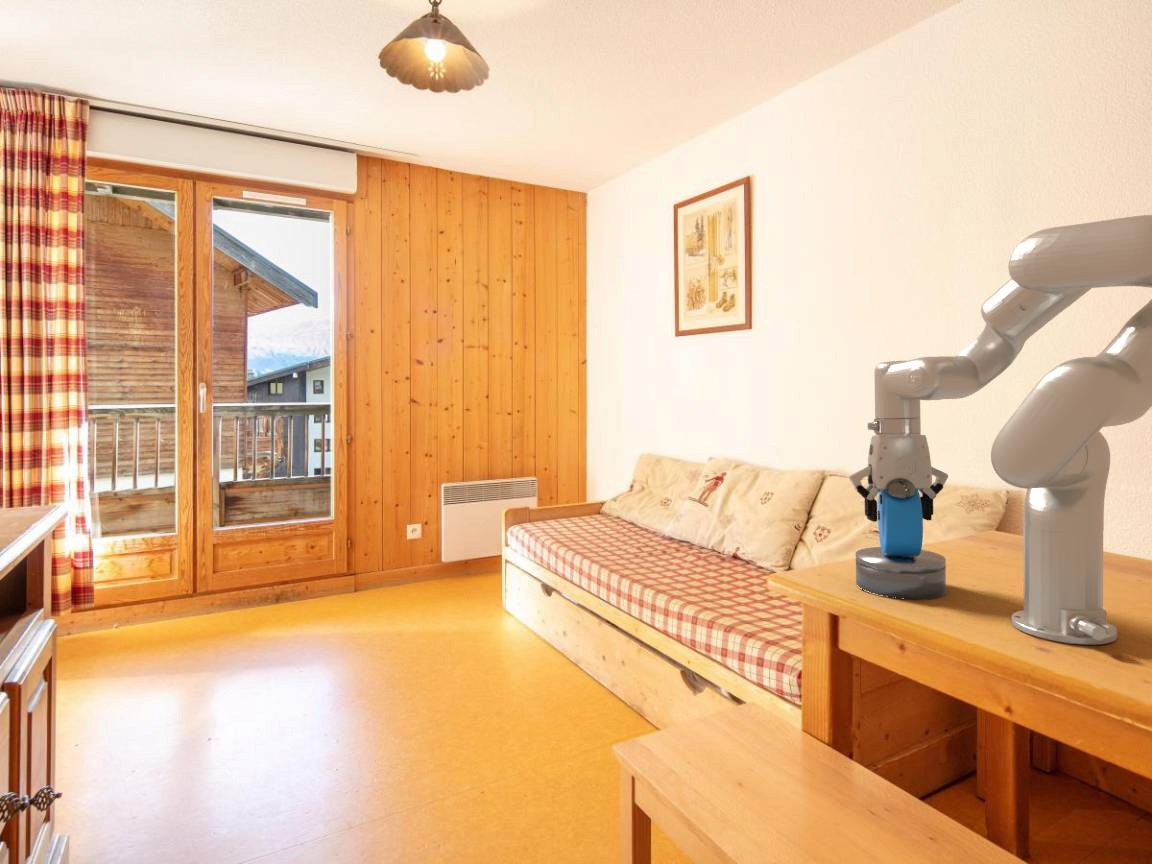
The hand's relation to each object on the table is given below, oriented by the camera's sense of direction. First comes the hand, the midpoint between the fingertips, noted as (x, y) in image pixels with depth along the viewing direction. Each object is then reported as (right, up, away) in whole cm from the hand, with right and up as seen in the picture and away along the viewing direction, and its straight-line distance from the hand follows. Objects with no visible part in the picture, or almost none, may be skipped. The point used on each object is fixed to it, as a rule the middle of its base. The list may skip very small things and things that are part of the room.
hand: (898, 519), depth 120 cm
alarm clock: (0, -7, 0) cm, 7 cm away
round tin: (0, -13, +1) cm, 13 cm away
